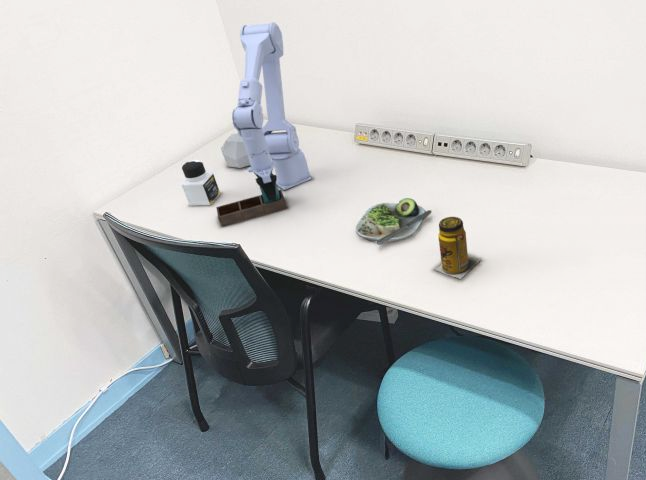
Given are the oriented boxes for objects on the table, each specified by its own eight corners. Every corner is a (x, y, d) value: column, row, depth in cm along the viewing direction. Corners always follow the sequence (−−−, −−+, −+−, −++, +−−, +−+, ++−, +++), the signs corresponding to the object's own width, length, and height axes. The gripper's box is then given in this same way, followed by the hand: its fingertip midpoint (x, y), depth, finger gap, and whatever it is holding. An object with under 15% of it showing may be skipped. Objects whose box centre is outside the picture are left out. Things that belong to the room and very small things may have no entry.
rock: (228, 151, 209) (219, 124, 203) (285, 141, 209) (278, 114, 203) (222, 174, 194) (212, 146, 188) (283, 163, 195) (275, 135, 189)
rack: (283, 198, 176) (281, 189, 174) (287, 208, 171) (284, 199, 169) (219, 216, 173) (216, 207, 171) (221, 226, 168) (218, 217, 166)
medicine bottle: (210, 205, 179) (196, 168, 171) (189, 206, 180) (174, 169, 173) (220, 193, 184) (207, 157, 177) (199, 194, 186) (185, 158, 178)
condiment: (434, 270, 138) (428, 225, 131) (455, 251, 143) (451, 207, 135) (460, 279, 134) (456, 234, 127) (481, 260, 139) (478, 215, 131)
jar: (277, 196, 174) (269, 171, 169) (283, 201, 171) (276, 176, 166) (262, 202, 173) (254, 177, 168) (268, 208, 169) (260, 182, 165)
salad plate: (410, 253, 145) (408, 237, 142) (344, 246, 151) (340, 230, 148) (436, 211, 158) (434, 195, 156) (374, 206, 165) (371, 191, 162)
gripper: (239, 144, 167) (253, 188, 175) (245, 164, 156) (260, 210, 164) (264, 138, 168) (277, 181, 177) (272, 157, 157) (285, 203, 165)
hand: (271, 195), depth 171 cm, fingers closed on jar, 5 cm apart
